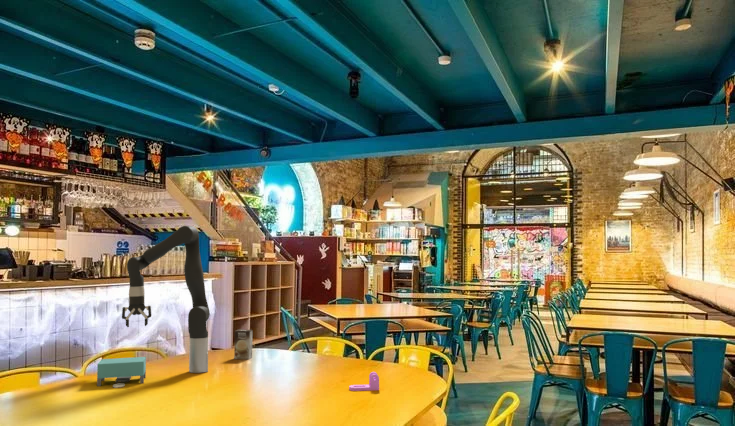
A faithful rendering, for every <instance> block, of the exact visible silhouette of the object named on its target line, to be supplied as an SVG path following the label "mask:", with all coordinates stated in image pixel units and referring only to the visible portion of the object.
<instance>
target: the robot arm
mask: <svg viewBox="0 0 735 426" xmlns="http://www.w3.org/2000/svg"><path fill="white" fill-rule="evenodd" d="M183 244H184V247H185V248H184V249H185V260H184V266H183V271H184V272H183V273H184V280H185V283H186V287H187V289H188V291H189V293H190V296H191V301H192V308H191V309H190V310H189V312H188V315H187V316H188V317H187V318H188V319H187V321H188V322H187V326H188V327H187V329H188V330H187V331H188V335H189V346H188V347H189V349H188V350H189V352H188V354H189V355H188V372H189V373H192V374H193V373H194V374H201V373H208V372H209V331H208V329H207V321H208V320H209V319H210V315H211V314H210V308H209V304H208V301H207V296H206V286H205V280H204V279H205V278H204V270H203V265H202V264H203V263H202V259H201V252H200V235H199V231H198V229H197V228H196V227H195V226H193V225H182V226H180V227H179V228H178V229H177V230H176V231H173V233H171V235H169V236H168V237H167V238H165V239H164V240H162V241H160V242H158V243H156V244H154V245H153V246H151V247H150V248H148V249H146V250H145V251H144V252H143V253H142V254H141V255H140V256H132V257H130V258H129V259H128V260H127V262H126V270H127V274H128V278H129V287H128V288H129V290H128V306H122V310H121V318H122V320H125V326H126V327H127V328H129V327H130V320H129V319H130V318H131V316H132V315H133V316H136V315H137V316H138V315H142V316H143V317H144V327H147V326H148V323H149V321H148V320H149V318H152V307H151V305H147V306H146V305H145V279H144V278H145V277H144V276H143V275H142V274H141V271H142V270H143V269H146V268H147V267H149V266H150V265H151V264H152V263H154V262H156V261H158V260H159V259H161V258H162V257H164V256H166V254H168V253H169V252H170V251H171V250H173V249H174V248H176V247H178V246H180V245H183ZM145 309H146V310H147V311H148V315H147V313H146V312H145ZM127 310H128V311H127ZM126 312H129V313H128V315H127V316H126Z"/></svg>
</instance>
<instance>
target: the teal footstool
mask: <svg viewBox="0 0 735 426" xmlns="http://www.w3.org/2000/svg"><path fill="white" fill-rule="evenodd" d="M146 364H147V356H138V357H135V356H134V357H120V358H119V357H118V358H102V359H100V361H99V362H98V363H97V368H96V369H97V371H96V374H97V375H96V377H97V378H96V386H97V387H101V386H102V382H104V381H105V380H106V379H108V378H109V379H111V378H117V377H129V376H131V377H139V384H144V383H145V381H144V380H145V379H146V377H147V376H146V373H147V372H146V371H147V370H146V369H147V368H146V367H147V366H146Z"/></svg>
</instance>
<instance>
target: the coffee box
mask: <svg viewBox="0 0 735 426" xmlns="http://www.w3.org/2000/svg"><path fill="white" fill-rule="evenodd" d="M252 358H253V329H241V328H240V329H236V330H234V357H233V359H234V360H250V359H252Z"/></svg>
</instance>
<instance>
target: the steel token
mask: <svg viewBox="0 0 735 426" xmlns="http://www.w3.org/2000/svg"><path fill="white" fill-rule="evenodd" d="M125 385H126V384H125V383H124V382H118V383H115V384H112V388H114V389H121V388H124V387H125Z"/></svg>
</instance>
